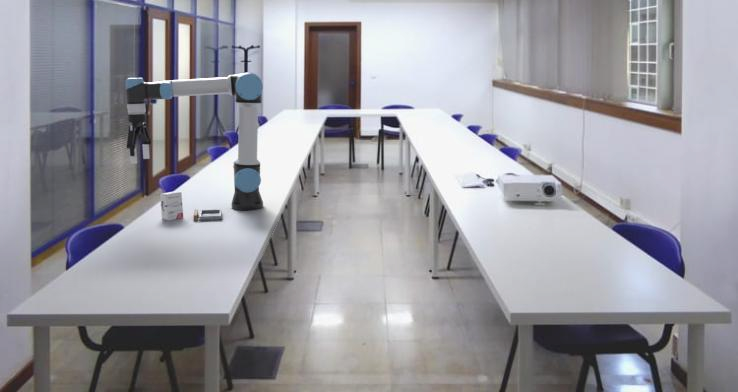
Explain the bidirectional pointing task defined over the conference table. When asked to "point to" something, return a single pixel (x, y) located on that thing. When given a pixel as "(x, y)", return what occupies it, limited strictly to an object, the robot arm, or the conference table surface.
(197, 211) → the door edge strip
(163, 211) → the ink box
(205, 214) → the frame
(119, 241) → the conference table surface
